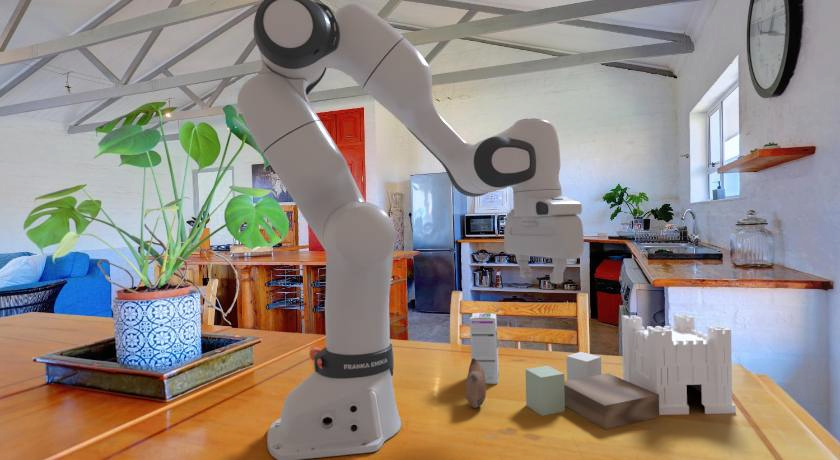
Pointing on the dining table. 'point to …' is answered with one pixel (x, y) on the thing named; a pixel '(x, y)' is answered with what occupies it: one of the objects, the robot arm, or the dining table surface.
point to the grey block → (583, 365)
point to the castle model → (679, 363)
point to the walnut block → (610, 400)
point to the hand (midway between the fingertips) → (540, 280)
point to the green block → (545, 390)
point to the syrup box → (485, 344)
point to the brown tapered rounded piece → (475, 384)
